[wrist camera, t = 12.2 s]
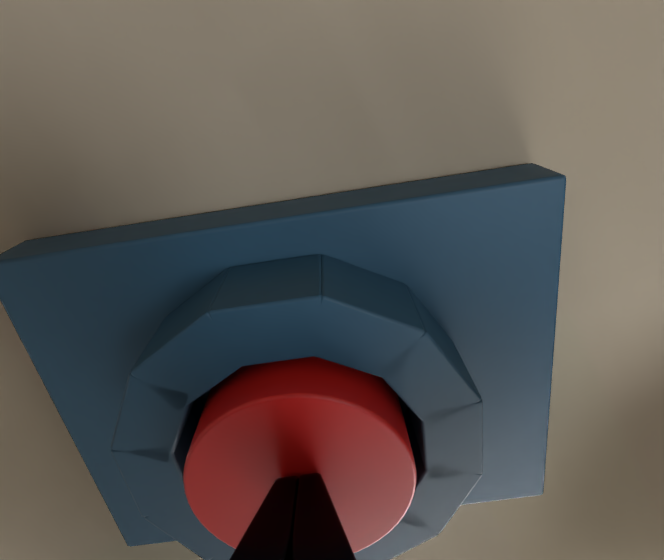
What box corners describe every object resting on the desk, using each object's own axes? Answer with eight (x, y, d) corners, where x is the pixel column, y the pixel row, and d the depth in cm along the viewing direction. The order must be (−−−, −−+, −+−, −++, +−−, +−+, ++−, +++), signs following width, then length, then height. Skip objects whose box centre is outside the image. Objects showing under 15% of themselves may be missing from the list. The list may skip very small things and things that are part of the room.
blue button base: (534, 162, 10) (635, 200, 7) (522, 455, 14) (583, 568, 10) (23, 239, 10) (-108, 310, 7) (145, 503, 14) (95, 626, 11)
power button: (392, 325, 9) (408, 379, 7) (408, 480, 11) (424, 550, 9) (179, 355, 9) (149, 414, 7) (231, 503, 11) (216, 576, 9)
